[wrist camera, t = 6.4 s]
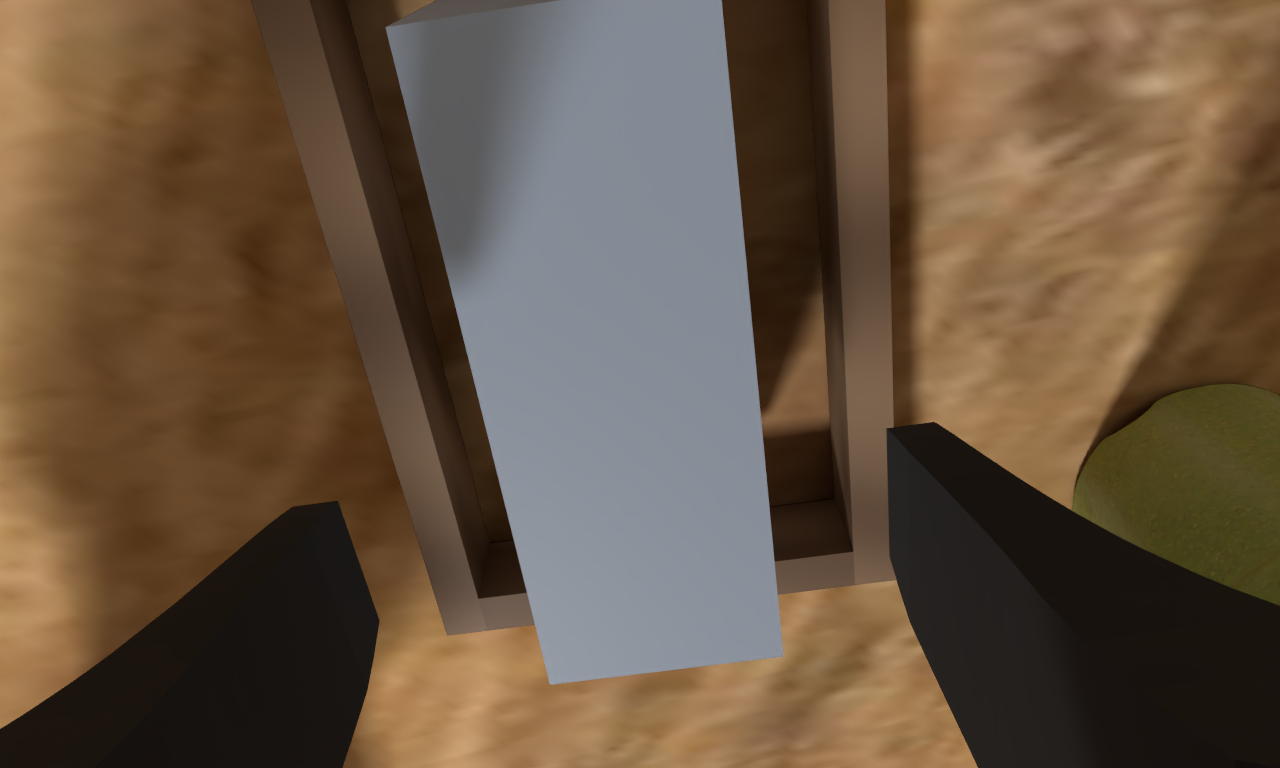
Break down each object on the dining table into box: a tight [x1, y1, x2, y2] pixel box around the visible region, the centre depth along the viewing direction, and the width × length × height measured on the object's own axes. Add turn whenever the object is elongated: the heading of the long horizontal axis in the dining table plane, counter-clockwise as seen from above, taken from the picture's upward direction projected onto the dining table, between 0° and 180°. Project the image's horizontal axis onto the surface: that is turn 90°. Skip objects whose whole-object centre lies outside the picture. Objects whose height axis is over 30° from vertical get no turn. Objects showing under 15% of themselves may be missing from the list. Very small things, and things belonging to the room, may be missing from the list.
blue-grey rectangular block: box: [385, 0, 783, 685], centre depth 17 cm, size 12×4×5 cm, turn 8°
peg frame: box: [251, 0, 897, 636], centre depth 20 cm, size 16×11×2 cm
